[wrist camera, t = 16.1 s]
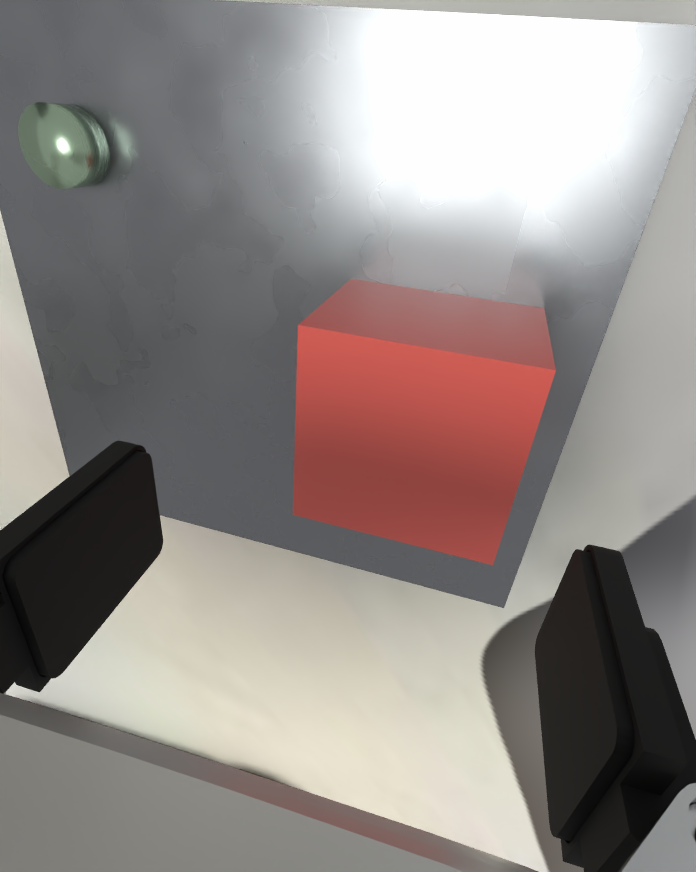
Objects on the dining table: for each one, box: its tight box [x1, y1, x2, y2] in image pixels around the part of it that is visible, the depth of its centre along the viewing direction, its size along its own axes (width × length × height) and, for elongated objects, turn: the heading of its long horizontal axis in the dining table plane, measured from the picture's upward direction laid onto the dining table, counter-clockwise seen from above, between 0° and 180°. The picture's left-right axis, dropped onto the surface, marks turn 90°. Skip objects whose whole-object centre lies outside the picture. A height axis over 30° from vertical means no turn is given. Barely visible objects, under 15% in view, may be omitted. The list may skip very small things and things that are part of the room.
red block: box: [293, 279, 556, 565], centre depth 16 cm, size 6×6×5 cm
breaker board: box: [0, 0, 696, 608], centre depth 20 cm, size 20×22×4 cm
